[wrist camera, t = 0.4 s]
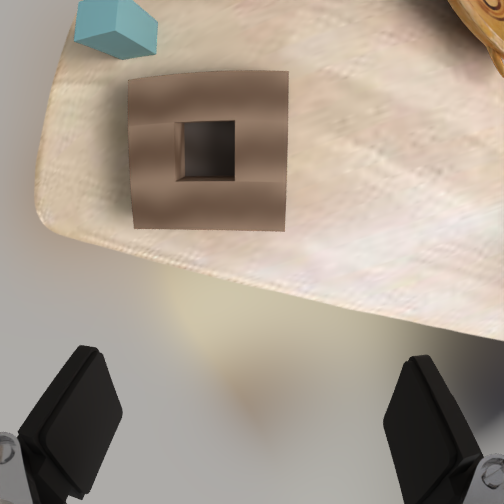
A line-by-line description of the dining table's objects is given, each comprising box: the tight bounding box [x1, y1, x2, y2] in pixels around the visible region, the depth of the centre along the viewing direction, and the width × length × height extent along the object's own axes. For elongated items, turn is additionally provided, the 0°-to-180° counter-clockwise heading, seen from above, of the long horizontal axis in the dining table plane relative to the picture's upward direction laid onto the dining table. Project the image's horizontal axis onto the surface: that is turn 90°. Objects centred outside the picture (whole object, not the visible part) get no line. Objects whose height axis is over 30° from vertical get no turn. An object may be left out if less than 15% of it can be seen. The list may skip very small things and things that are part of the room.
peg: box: [74, 0, 158, 60], centre depth 25 cm, size 4×4×11 cm
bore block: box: [128, 71, 289, 232], centre depth 33 cm, size 16×16×5 cm
